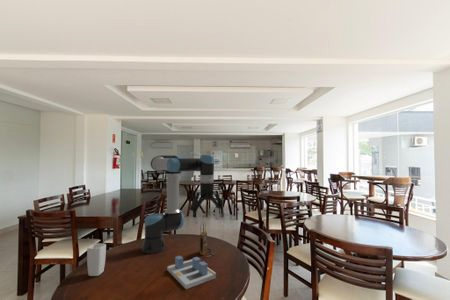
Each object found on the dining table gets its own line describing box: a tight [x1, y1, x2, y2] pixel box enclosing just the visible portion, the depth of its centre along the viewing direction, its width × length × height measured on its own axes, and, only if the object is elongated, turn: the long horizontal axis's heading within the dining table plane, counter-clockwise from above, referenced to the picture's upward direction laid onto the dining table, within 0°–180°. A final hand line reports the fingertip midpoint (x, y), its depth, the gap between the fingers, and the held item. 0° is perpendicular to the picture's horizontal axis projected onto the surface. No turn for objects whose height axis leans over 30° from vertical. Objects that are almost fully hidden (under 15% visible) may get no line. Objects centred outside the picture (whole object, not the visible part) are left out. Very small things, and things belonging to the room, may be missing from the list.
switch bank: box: [166, 259, 217, 290], centre depth 120 cm, size 23×17×3 cm
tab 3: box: [199, 260, 209, 276], centre depth 117 cm, size 4×3×5 cm
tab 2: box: [192, 256, 202, 270], centre depth 122 cm, size 4×3×5 cm
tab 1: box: [174, 255, 184, 269], centre depth 124 cm, size 4×3×5 cm
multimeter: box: [199, 222, 215, 259], centre depth 147 cm, size 15×10×20 cm
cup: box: [86, 243, 107, 277], centre depth 120 cm, size 7×7×15 cm
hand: (206, 221), depth 123 cm, fingers open, 13 cm apart
